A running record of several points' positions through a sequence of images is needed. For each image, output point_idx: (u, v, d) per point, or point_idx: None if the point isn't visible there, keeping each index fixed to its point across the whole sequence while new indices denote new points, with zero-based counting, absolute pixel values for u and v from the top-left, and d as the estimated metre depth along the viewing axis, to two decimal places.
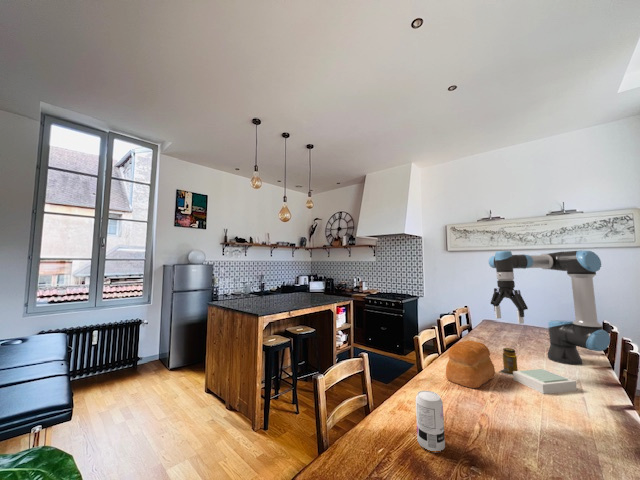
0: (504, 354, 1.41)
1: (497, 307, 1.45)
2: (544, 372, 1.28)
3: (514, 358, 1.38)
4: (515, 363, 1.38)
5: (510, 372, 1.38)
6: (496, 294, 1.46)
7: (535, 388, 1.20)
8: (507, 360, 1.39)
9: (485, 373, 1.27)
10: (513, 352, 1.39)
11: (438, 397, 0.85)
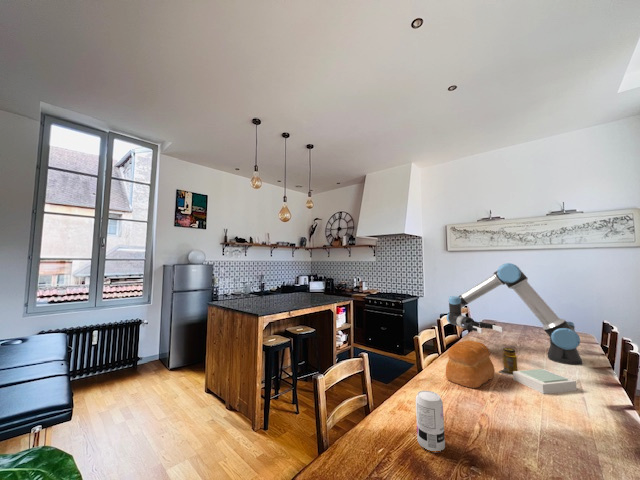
0: (504, 354, 1.41)
1: (493, 328, 1.58)
2: (544, 372, 1.28)
3: (514, 358, 1.38)
4: (515, 363, 1.38)
5: (510, 372, 1.38)
6: None
7: (535, 388, 1.20)
8: (507, 360, 1.39)
9: (485, 373, 1.28)
10: (513, 352, 1.39)
11: (438, 397, 0.85)
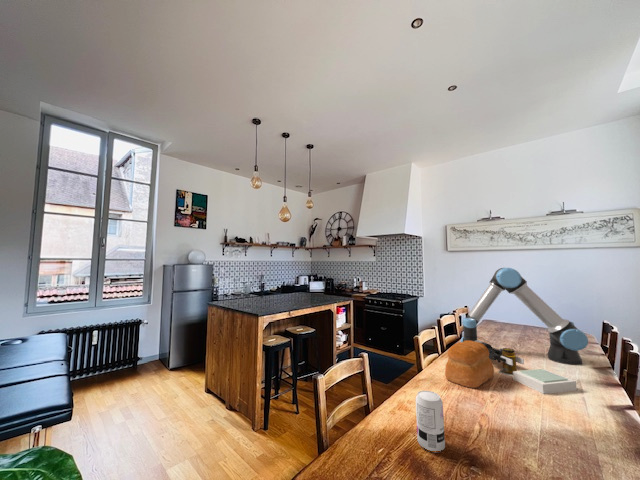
0: (503, 354, 1.41)
1: None
2: (544, 372, 1.28)
3: (513, 358, 1.38)
4: (514, 363, 1.38)
5: (509, 372, 1.38)
6: None
7: (535, 388, 1.20)
8: None
9: (485, 373, 1.28)
10: (512, 352, 1.39)
11: (438, 397, 0.85)
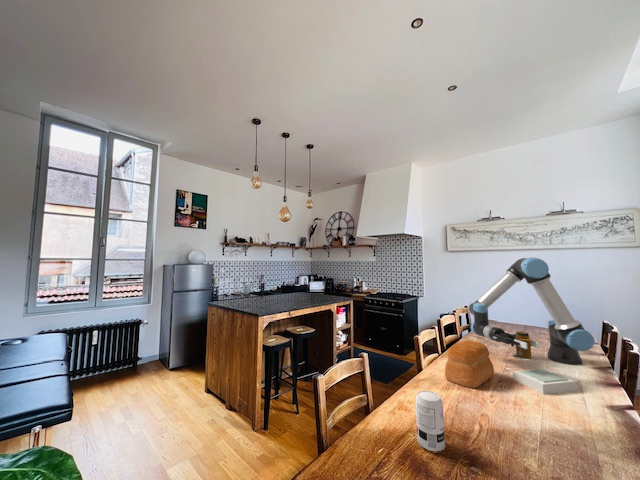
0: (517, 338, 1.34)
1: None
2: (544, 372, 1.28)
3: (527, 342, 1.31)
4: (528, 346, 1.30)
5: (523, 356, 1.31)
6: None
7: (535, 388, 1.20)
8: None
9: (484, 373, 1.28)
10: (526, 335, 1.31)
11: (438, 397, 0.85)
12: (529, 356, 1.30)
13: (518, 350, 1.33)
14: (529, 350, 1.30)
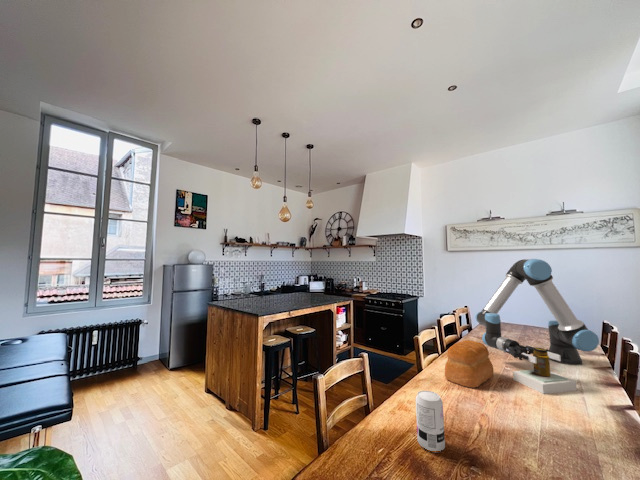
0: (534, 354, 1.27)
1: None
2: None
3: (546, 359, 1.24)
4: (547, 364, 1.24)
5: (542, 374, 1.24)
6: None
7: (535, 388, 1.20)
8: (538, 361, 1.25)
9: (484, 373, 1.28)
10: (545, 352, 1.25)
11: (438, 397, 0.85)
12: (548, 374, 1.23)
13: (536, 367, 1.26)
14: (548, 368, 1.23)
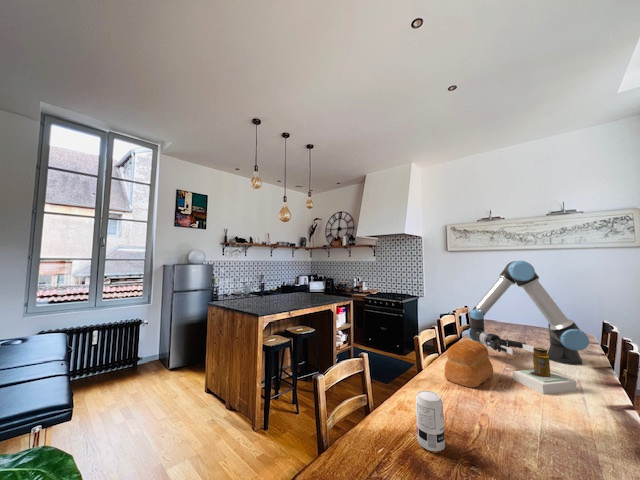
0: (534, 354, 1.27)
1: (523, 347, 1.42)
2: None
3: (546, 359, 1.24)
4: (547, 364, 1.24)
5: (542, 374, 1.24)
6: None
7: (535, 388, 1.20)
8: (538, 361, 1.25)
9: (484, 373, 1.28)
10: (545, 352, 1.25)
11: (438, 397, 0.85)
12: (548, 374, 1.23)
13: (536, 367, 1.26)
14: (548, 368, 1.23)
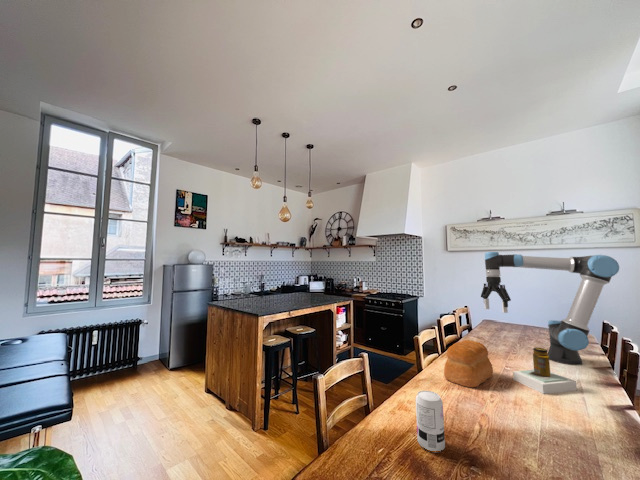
0: (534, 354, 1.27)
1: (486, 299, 1.70)
2: None
3: (546, 359, 1.24)
4: (547, 364, 1.24)
5: (542, 374, 1.24)
6: (485, 288, 1.71)
7: (535, 388, 1.20)
8: (538, 361, 1.25)
9: (483, 373, 1.28)
10: (545, 352, 1.25)
11: (438, 397, 0.85)
12: (548, 374, 1.23)
13: (536, 367, 1.26)
14: (548, 368, 1.23)
